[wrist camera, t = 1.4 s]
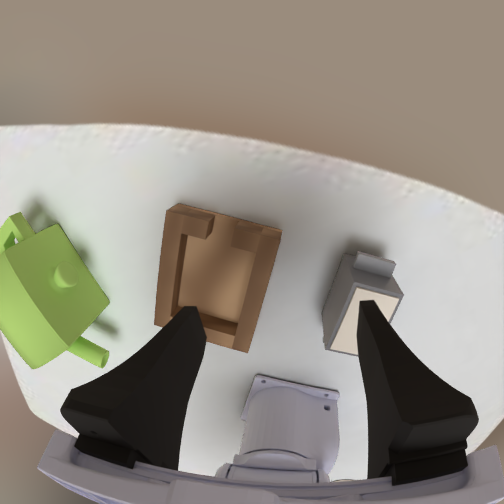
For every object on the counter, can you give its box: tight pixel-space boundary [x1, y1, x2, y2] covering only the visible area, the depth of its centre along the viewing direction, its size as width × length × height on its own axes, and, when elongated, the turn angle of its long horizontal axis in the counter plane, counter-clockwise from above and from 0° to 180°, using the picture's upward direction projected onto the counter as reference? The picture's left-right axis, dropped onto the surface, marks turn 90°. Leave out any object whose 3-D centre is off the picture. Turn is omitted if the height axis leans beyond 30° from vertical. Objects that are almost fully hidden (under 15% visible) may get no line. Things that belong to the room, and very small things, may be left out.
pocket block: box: [154, 204, 282, 353], centre depth 27 cm, size 9×11×3 cm
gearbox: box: [0, 212, 110, 369], centre depth 27 cm, size 18×10×10 cm, turn 31°
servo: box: [322, 251, 404, 357], centre depth 24 cm, size 4×8×6 cm, turn 167°
